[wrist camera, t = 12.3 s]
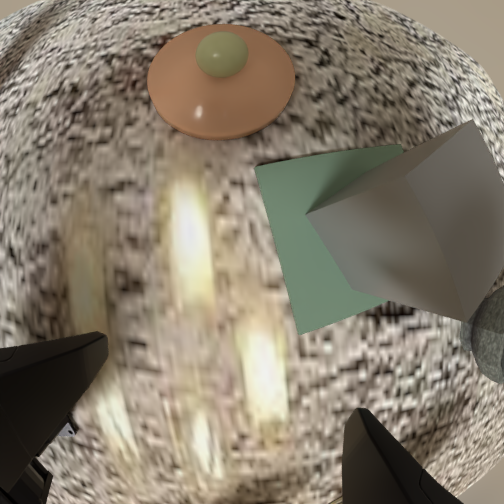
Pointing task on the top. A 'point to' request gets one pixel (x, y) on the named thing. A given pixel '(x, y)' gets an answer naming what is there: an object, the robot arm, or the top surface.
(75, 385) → the robot arm
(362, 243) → the grey tall block
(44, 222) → the top surface
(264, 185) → the mat
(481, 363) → the mortar and pestle
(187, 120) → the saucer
